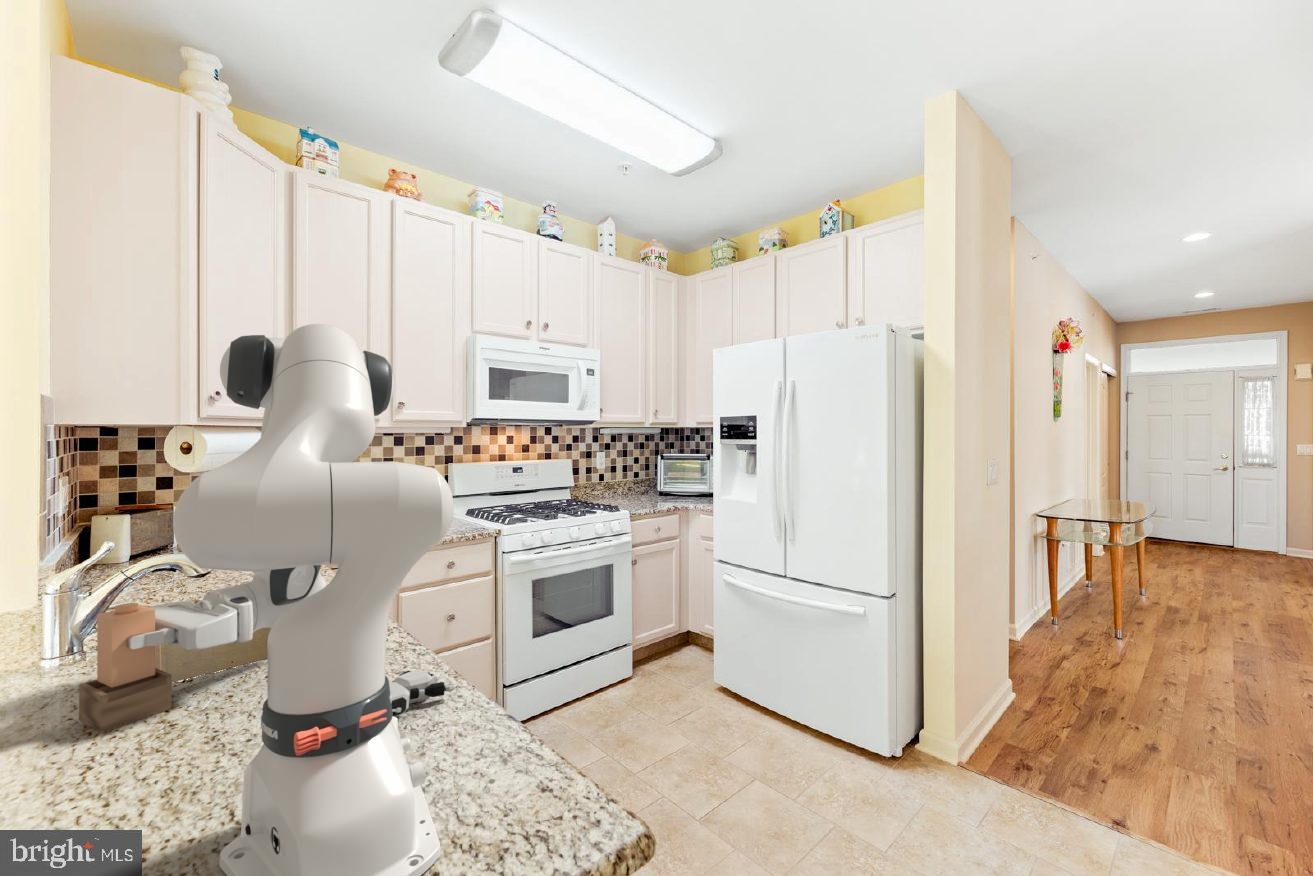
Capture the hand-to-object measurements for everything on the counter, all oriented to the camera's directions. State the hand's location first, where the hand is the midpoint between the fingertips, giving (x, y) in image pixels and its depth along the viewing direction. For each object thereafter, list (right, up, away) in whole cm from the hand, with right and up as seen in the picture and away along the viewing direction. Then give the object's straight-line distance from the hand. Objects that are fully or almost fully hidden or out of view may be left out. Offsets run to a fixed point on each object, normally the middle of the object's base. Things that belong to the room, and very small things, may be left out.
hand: (118, 639), depth 84 cm
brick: (0, -6, +1) cm, 6 cm away
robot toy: (+40, -12, +2) cm, 42 cm away
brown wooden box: (0, -12, +1) cm, 12 cm away
